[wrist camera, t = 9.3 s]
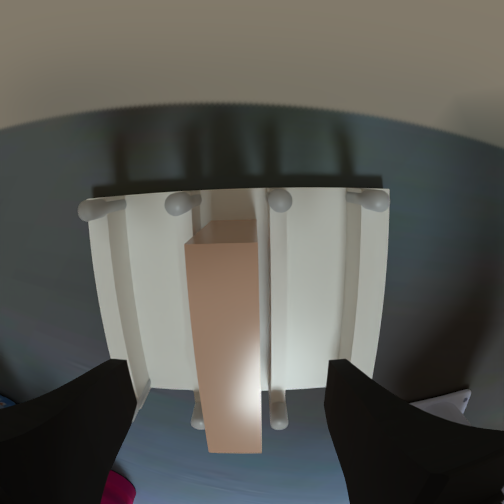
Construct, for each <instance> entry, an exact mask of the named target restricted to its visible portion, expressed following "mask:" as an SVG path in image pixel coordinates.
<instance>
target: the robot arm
mask: <svg viewBox="0 0 504 504" xmlns="http://www.w3.org/2000/svg"><path fill="white" fill-rule="evenodd" d="M470 395H471V391H470V390H469V389H465V390H462V391H458V392H454V393H451V394H447V395H443V396H439V397H435V398H431V399H427V400H422V401H418V402H413V403H407V402H406V401H404V400H402V399H400V398H399V397H397V396H396V395H394V394H392V393H391V392H389V391H388V390H386V389H385V388H383V387H382V386H381V385H379V384H378V383H376V382H375V381H374V380H372V379H371V378H370V377H368V376H367V375H366V374H365V373H363V372H362V371H361V370H360V369H358V368H357V367H356V366H355V365H353V364H352V363H351V362H349V361H348V360H347V359H336V360H329V363H328V373H327V382H326V391H325V400H324V408H325V414H326V419H327V424H328V429H329V432H330V435H331V438H332V441H333V444H334V447H335V450H336V453H337V456H338V459H339V462H340V465H341V468H342V471H343V473H344V477H345V481H346V485H347V490H348V495H349V501H350V504H504V431H500V430H491V429H483V428H477V427H472V425H471V424H470V423H469V422H468V420H467V419H466V418H465V416H464V415H463V413H464V410H465V408H466V405H467V403H468V400H469V398H470ZM136 406H137V400H136V396H135V392H134V389H133V385H132V381H131V377H130V373H129V368H128V364H127V360H123V359H110V360H108V361H106V362H104V363H102V364H100V365H98V366H97V367H95V368H93V369H91V370H90V371H88V372H86V373H85V374H83V375H81V376H79V377H78V378H76V379H74V380H72V381H71V382H69V383H67V384H65V385H63V386H61V387H59V388H57V389H55V390H53V391H51V392H49V393H47V394H45V395H42V396H40V397H37V398H35V399H32V400H29V401H27V402H23V403H20V404H16V405H13V406H9V407H6V408H1V409H0V504H100V503H101V499H102V495H103V491H104V488H105V485H106V481H107V478H108V475H109V472H110V470H111V467H112V465H113V463H114V461H115V458H116V456H117V454H118V452H119V450H120V448H121V446H122V443H123V441H124V439H125V437H126V435H127V433H128V430H129V428H130V426H131V423H132V420H133V417H134V414H135V410H136Z"/></svg>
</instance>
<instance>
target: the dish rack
mask: <svg viewBox="0 0 504 504" xmlns="http://www.w3.org/2000/svg"><path fill="white" fill-rule="evenodd" d="M389 205H390V198H389V189H380V188H339V187H280V188H237V189H212V190H192V191H175V192H160V193H146V194H133V195H122V196H111V197H101V198H91V199H87V200H86V201H83V202H81V203H80V205H79V207H78V215H79V217H80V218H81V219H82V220H83V221H86V222H87V221H88V223H89V234H90V243H91V252H92V260H93V268H94V275H95V281H96V288H97V294H98V299H99V305H100V311H101V316H102V321H103V326H104V331H105V335H106V340H107V344H108V349H109V353H110V357H111V359H123V360H127V364H128V368H129V373H130V377H131V381H132V385H133V389H134V392H135V396H136V400H137V406H136V410H135V414H134V417H133V420H132V422H133V421H134V419H135V417H136V415H137V413H138V411H139V409H141V408H142V406H143V404H144V402H145V399H146V397H147V395H148V393H149V391H150V389H151V387H152V388H165V389H181V390H194V396H195V402H196V403H195V407H194V411H193V415H192V419H191V425H192V426H193V427H194V428H196V429H199V430H203V429H205V425H204V419H203V413H202V406H201V399H200V392H199V385H198V378H197V370H196V363H195V355H194V346H193V338H192V328H191V319H190V309H189V299H188V288H187V276H186V264H185V250H184V244H185V243H186V242H187V241H188V240H190V239H191V238H192V237H193V236H194V235H195V234H196V233H197V232H199V231H200V230H201V229H202V228H203V227H204V226H205V225H207V224H208V223H209V222H210V221H212V220H243V219H257V236H258V269H259V316H260V368H261V391H265V390H268V391H269V407H270V424H271V427H272V428H273V429H276V430H282V429H284V428H286V427H287V426H288V416H287V408H286V401H285V390H290V389H306V388H319V387H326V382H327V373H328V363H329V360H336V359H347V360H348V361H349V362H351V363H352V364H353V365H355V366H356V367H357V368H358V369H360V370H361V371H362V372H363V373H365V374H366V375H367V376H368V377H370V378H371V379H372V376H373V370H374V364H375V358H376V352H377V346H378V339H379V332H380V325H381V317H382V308H383V299H384V290H385V279H386V266H387V251H388V232H389Z"/></svg>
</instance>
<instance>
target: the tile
mask: <svg viewBox="0 0 504 504" xmlns="http://www.w3.org/2000/svg"><path fill="white" fill-rule="evenodd" d="M184 250H185V264H186V276H187V288H188V299H189V309H190V319H191V328H192V338H193V346H194V355H195V363H196V370H197V378H198V385H199V392H200V399H201V406H202V413H203V419H204V425H205V431H206V437H207V443H208V449H209V452H211V453H262V429H261V368H260V316H259V269H258V236H257V219H243V220H212V221H210V222H209V223H208V224H207V225H205V226H204V227H203V228H202V229H201V230H200V231H199V232H197V233H196V234H195V235H194V236H193V237H192V238H191V239H190V240H188V241H187V242H186V243H185V244H184Z"/></svg>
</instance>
